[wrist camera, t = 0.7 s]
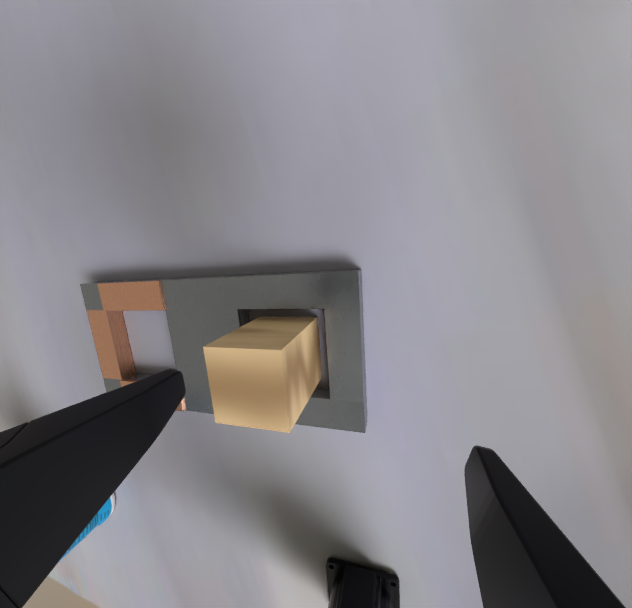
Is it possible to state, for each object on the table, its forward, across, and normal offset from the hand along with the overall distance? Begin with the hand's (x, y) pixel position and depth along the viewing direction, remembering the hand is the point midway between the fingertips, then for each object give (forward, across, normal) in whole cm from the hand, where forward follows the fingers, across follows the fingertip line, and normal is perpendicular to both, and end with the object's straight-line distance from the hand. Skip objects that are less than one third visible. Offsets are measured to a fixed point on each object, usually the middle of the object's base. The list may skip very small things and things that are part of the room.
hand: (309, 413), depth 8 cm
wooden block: (+12, +5, +6) cm, 14 cm away
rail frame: (+12, +12, +7) cm, 18 cm away
